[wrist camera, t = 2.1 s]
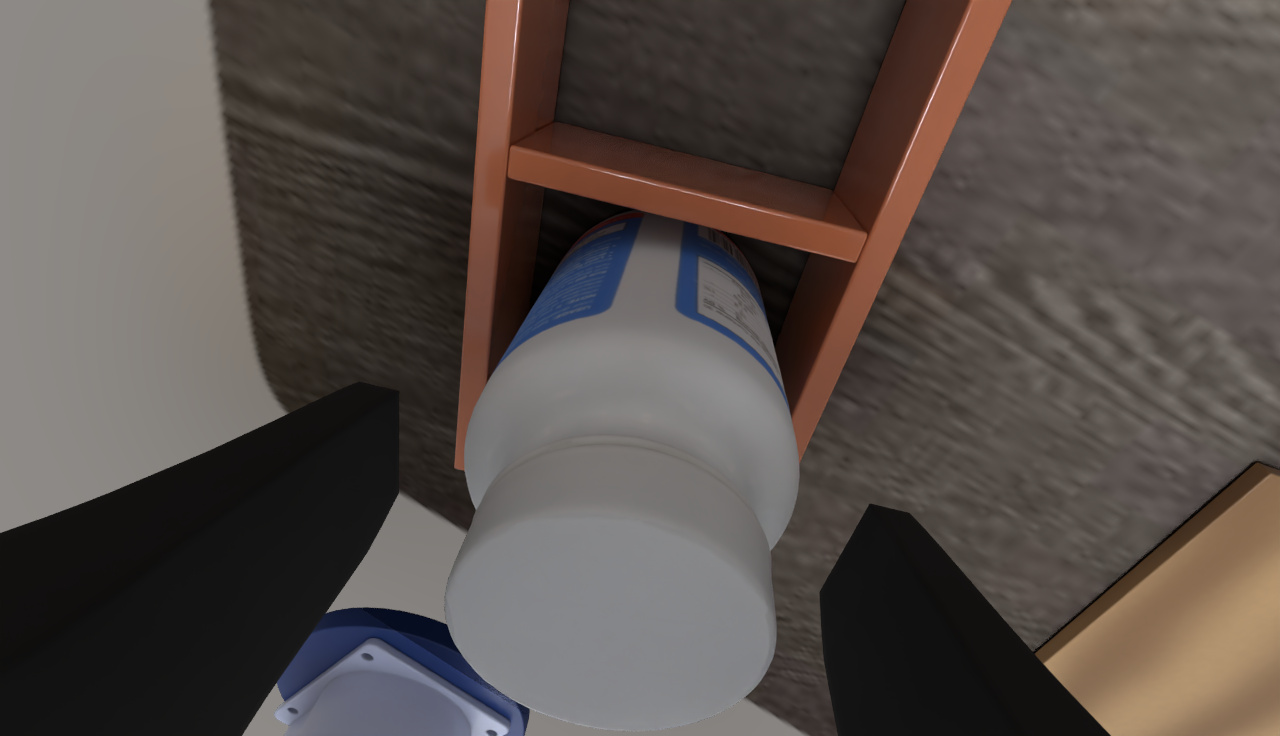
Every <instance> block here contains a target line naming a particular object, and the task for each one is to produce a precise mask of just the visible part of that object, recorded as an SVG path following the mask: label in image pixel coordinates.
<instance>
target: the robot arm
mask: <svg viewBox="0 0 1280 736" xmlns="http://www.w3.org/2000/svg"><path fill="white" fill-rule="evenodd" d="M398 493H399V391H396V390H392V389H388V388H384V387H379V386H375V385H371V384H367V383H363V382H357V383H354V384H352V385H350V386H347V387H345V388H343V389H340V390H338V391H336V392H334V393H332V394H329V395H327V396H325V397H323V398H321V399H319V400H317V401H315V402H312V403H310V404H308V405H306V406H304V407H302V408H300V409H298V410H296V411H293V412H291V413H289V414H287V415H285V416H283V417H281V418H279V419H277V420H275V421H273V422H270V423H268V424H266V425H264V426H262V427H259V428H258V429H255V430H253V431H251V432H249V433H247V434H244V435H242V436H240V437H238V438H236V439H234V440H231V441H229V442H227V443H225V444H223V445H221V446H218V447H216V448H214V449H212V450H210V451H207V452H205V453H203V454H200V455H198V456H196V457H193V458H191V459H189V460H186V461H184V462H182V463H179V464H177V465H174V466H172V467H170V468H167V469H165V470H163V471H160V472H158V473H155V474H153V475H151V476H148V477H146V478H143V479H141V480H139V481H136V482H134V483H132V484H129V485H127V486H124V487H122V488H120V489H117V490H115V491H113V492H110V493H108V494H105V495H103V496H100V497H97V498H95V499H93V500H90V501H87V502H85V503H82V504H79V505H77V506H74V507H72V508H69V509H66V510H63V511H61V512H58V513H55V514H53V515H50V516H48V517H45V518H42V519H39V520H36V521H33V522H30V523H28V524H25V525H22V526H19V527H16V528H13V529H11V530H8V531H5V532H2V533H0V736H242V735H243V733H244V731H245V730H246V728H247V727H248V725H249V723H250V722H251V721H252V719H253V717H254V716H255V714H256V712H257V711H258V710H259V708H260V707H261V705H262V703H263V702H264V700H265V699H266V697H267V696H268V694H269V693H270V692H271V690H272V689H273V687H274V686H275V684H276V683H277V682H278V680H279V679H280V677H281V676H282V674H283V673H284V672H285V670H286V669H287V667H288V666H289V664H290V663H291V662H292V660H293V659H294V657H295V656H296V654H297V653H298V652H299V650H300V649H301V647H302V646H303V644H304V643H305V642H306V640H307V639H308V637H309V636H310V634H311V633H312V632H313V630H314V629H315V627H316V626H317V625H318V623H319V622H320V620H321V619H322V617H323V616H324V615H325V613H326V612H327V610H328V609H329V607H330V606H331V604H332V603H333V602H334V600H335V599H336V597H337V596H338V594H339V593H340V592H341V590H342V589H343V587H344V586H345V584H346V583H347V581H348V580H349V579H350V577H351V576H352V574H353V573H354V571H355V570H356V568H357V567H358V565H359V564H360V563H361V561H362V560H363V558H364V557H365V555H366V554H367V552H368V550H369V549H370V547H371V545H372V543H373V541H374V539H375V537H376V536H377V534H378V532H379V530H380V528H381V527H382V525H383V523H384V521H385V519H386V517H387V515H388V513H389V511H390V509H391V507H392V505H393V503H394V501H395V499H396V497H397V495H398ZM820 610H821V630H822V642H823V655H824V663H825V668H826V674H827V679H828V685H829V690H830V695H831V701H832V706H833V711H834V717H835V722H836V727H837V732H838V736H1111V735H1110V734H1109V733H1108V732H1107V731H1106V730H1105V729H1104V728H1103V727H1102V726H1101V725H1100V724H1099V722H1098V721H1097V720H1096V719H1095V718H1094V717H1093V716H1092V715H1091V714H1090V713H1089V712H1088V711H1087V710H1086V709H1085V708H1084V707H1083V706H1082V705H1081V704H1080V703H1079V702H1078V700H1077V699H1076V698H1075V697H1074V696H1073V695H1072V694H1071V693H1070V692H1069V691H1068V690H1067V689H1066V688H1065V687H1064V686H1063V685H1062V684H1061V683H1060V681H1059V680H1058V679H1057V678H1056V677H1055V676H1054V675H1053V674H1052V673H1051V672H1050V671H1049V669H1048V668H1047V667H1046V666H1045V665H1044V664H1043V663H1042V662H1041V661H1040V660H1039V659H1038V657H1037V656H1036V655H1035V654H1034V653H1033V652H1032V651H1031V650H1030V649H1029V647H1028V646H1027V645H1026V644H1025V643H1024V642H1023V641H1022V640H1021V638H1020V637H1019V636H1018V635H1017V634H1016V633H1015V632H1014V631H1013V629H1012V628H1011V627H1010V626H1009V625H1008V624H1007V623H1006V621H1005V620H1004V619H1003V618H1002V617H1001V616H1000V615H999V613H998V612H997V611H996V610H995V609H994V608H993V607H992V605H991V604H990V603H989V602H988V601H987V600H986V599H985V597H984V596H983V595H982V594H981V593H980V592H979V590H978V589H977V588H976V587H975V586H974V585H973V584H972V582H971V581H970V580H969V579H968V578H967V577H966V575H965V574H964V573H963V572H962V571H961V570H960V568H959V567H958V566H957V565H956V564H955V563H954V562H953V560H952V559H951V558H950V557H949V556H948V555H947V554H946V552H945V551H944V550H943V549H942V548H941V547H940V546H939V544H938V543H937V542H936V541H935V540H934V539H933V538H932V537H931V535H930V534H929V533H928V532H927V531H926V530H925V529H924V528H923V527H922V526H921V524H920V523H919V522H918V521H917V520H916V519H915V518H914V517H913V516H912V515H911V514H910V513H907V512H903V511H899V510H895V509H890V508H886V507H882V506H878V505H874V504H869V506H868V508H867V510H866V511H865V513H864V515H863V517H862V518H861V520H860V522H859V524H858V525H857V527H856V529H855V531H854V533H853V534H852V536H851V538H850V540H849V541H848V543H847V545H846V547H845V548H844V550H843V552H842V554H841V555H840V557H839V559H838V561H837V562H836V564H835V566H834V568H833V569H832V571H831V573H830V575H829V576H828V578H827V580H826V582H825V584H824V585H823V587H822V589H821V591H820ZM274 715H275V717H276V719H278V720H279V721H281V722H283V723H285V724H287V725H288V726H289V728H288V730H287V731H286V733H285V735H284V736H503V735H505V734H507V733H508V732H509V729H510V725H511V723H510V721H509V719H507V718H506V717H504V716H503V715H501V714H500V713H498V712H496V711H495V710H493V709H492V708H490V707H488V706H487V705H485V704H484V703H482V702H481V701H479V700H477V699H476V698H474V697H473V696H471V695H469V694H468V693H466V692H465V691H463V690H461V689H460V688H458V687H457V686H455V685H453V684H452V683H450V682H449V681H447V680H445V679H444V678H442V677H441V676H439V675H437V674H436V673H434V672H433V671H431V670H429V669H428V668H426V667H425V666H423V665H421V664H420V663H418V662H417V661H415V660H414V659H412V658H410V657H409V656H407V655H406V654H404V653H402V652H401V651H399V650H398V649H396V648H394V647H393V646H391V645H390V644H388V643H386V642H385V641H383V640H381V639H379V638H370V639H368V640H366V641H365V642H364V643H362V644H361V645H360V646H358V647H357V648H356V649H354V650H353V651H351V652H350V653H349V654H347V655H346V656H345V657H343V658H342V659H341V660H339V661H338V662H337V663H335V664H334V665H333V666H331V667H330V668H329V669H327V670H326V671H325V672H323V673H322V674H321V675H319V676H318V677H317V678H315V679H314V680H313V681H311V682H310V683H309V684H307V685H306V686H305V687H303V688H302V689H301V690H299V691H298V692H297V693H295V694H294V695H293V696H291V697H290V698H289V699H287V700H286V701H285V702H283V703H282V704H281V705H279V707H278V708H277V710H276V711H275V713H274Z"/></svg>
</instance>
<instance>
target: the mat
mask: <svg viewBox="0 0 1280 736" xmlns="http://www.w3.org/2000/svg"><path fill="white" fill-rule="evenodd" d="M1035 655H1036V656H1037V657H1038V659H1039V660H1040V661H1041V662H1042V663H1043V664H1044V665H1045V666H1046V667H1047V668H1048V669H1049V671H1050V672H1051V673H1052V674H1053V675H1054V676H1055V677H1056V678H1057V679H1058V680H1059V681H1060V683H1061V684H1062V685H1063V686H1064V687H1065V688H1066V689H1067V690H1068V691H1069V692H1070V693H1071V694H1072V695H1073V696H1074V697H1075V698H1076V699H1077V700H1078V702H1079V703H1080V704H1081V705H1082V706H1083V707H1084V708H1085V709H1086V710H1087V711H1088V712H1089V713H1090V714H1091V715H1092V716H1093V717H1094V718H1095V719H1096V720H1097V721H1098V722H1099V724H1100V725H1101V726H1102V727H1103V728H1104V729H1105V730H1106V731H1107V732H1108V733H1109V734H1110V735H1111V736H1280V470H1277V469H1274V468H1272V467H1269V466H1266V465H1263V464H1261V463H1255V464H1254V465H1253V466H1252V467H1251V468H1250V469H1248V470H1247V471H1246V472H1245V473H1244V474H1243V475H1241V476H1240V477H1239V478H1238V479H1237V480H1236V481H1234V482H1233V483H1232V484H1231V485H1230V486H1229V487H1227V488H1226V489H1225V490H1224V491H1223V492H1222V493H1221V494H1219V495H1218V496H1217V497H1216V498H1215V499H1214V500H1212V501H1211V502H1210V503H1209V504H1208V505H1207V506H1205V507H1204V508H1203V509H1202V510H1201V511H1200V512H1198V513H1197V514H1196V515H1195V516H1194V517H1193V518H1192V519H1190V520H1189V521H1188V522H1187V523H1186V524H1185V525H1183V526H1182V527H1181V528H1180V529H1179V530H1178V531H1176V532H1175V533H1174V534H1173V535H1172V536H1171V537H1169V538H1168V539H1167V540H1166V541H1165V542H1164V543H1162V544H1161V545H1160V546H1159V547H1158V548H1157V549H1156V550H1154V551H1153V552H1152V553H1151V554H1150V555H1149V556H1147V557H1146V558H1145V559H1144V560H1143V561H1142V562H1140V563H1139V564H1138V565H1137V566H1136V567H1135V568H1133V569H1132V570H1131V571H1130V572H1129V573H1128V574H1127V575H1125V576H1124V577H1123V578H1122V579H1121V580H1120V581H1118V582H1117V583H1116V584H1115V585H1114V586H1113V587H1111V588H1110V589H1109V590H1108V591H1107V592H1106V593H1104V594H1103V595H1102V596H1101V597H1100V598H1099V599H1098V600H1096V601H1095V602H1094V603H1093V604H1092V605H1091V606H1089V607H1088V608H1087V609H1086V610H1085V611H1084V612H1082V613H1081V614H1080V615H1079V616H1078V617H1077V618H1075V619H1074V620H1073V621H1072V622H1071V623H1070V624H1068V625H1067V626H1066V627H1065V628H1064V629H1063V630H1062V631H1060V632H1059V633H1058V634H1057V635H1056V636H1055V637H1053V638H1052V639H1051V640H1050V641H1049V642H1048V643H1046V644H1045V645H1044V646H1043V647H1042V648H1041V649H1039V650H1038V651H1037V652H1036V653H1035Z"/></svg>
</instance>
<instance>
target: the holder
mask: <svg viewBox="0 0 1280 736" xmlns="http://www.w3.org/2000/svg"><path fill="white" fill-rule="evenodd" d="M1011 2H1012V0H907V1H906V3H905V6H904V9H903V11H902V14H901V16H900V19H899V22H898V24H897V27H896V30H895V32H894V35H893V37H892V40H891V43H890V45H889V48H888V51H887V53H886V56H885V58H884V61H883V64H882V66H881V69H880V71H879V74H878V77H877V79H876V82H875V85H874V87H873V90H872V92H871V95H870V98H869V100H868V103H867V106H866V108H865V111H864V113H863V116H862V119H861V121H860V124H859V127H858V129H857V132H856V134H855V137H854V140H853V142H852V145H851V148H850V150H849V153H848V155H847V158H846V161H845V163H844V166H843V168H842V171H841V174H840V176H839V179H838V182H837V184H836V187H835V189H834V192H833V191H832V190H831V189H827V188H823V187H819V186H815V185H811V184H807V183H803V182H799V181H795V180H791V179H787V178H783V177H779V176H775V175H771V174H767V173H763V172H759V171H755V170H751V169H747V168H743V167H738V166H734V165H730V164H726V163H722V162H718V161H714V160H710V159H706V158H702V157H698V156H694V155H690V154H686V153H682V152H678V151H674V150H670V149H666V148H662V147H658V146H654V145H650V144H646V143H642V142H638V141H634V140H630V139H626V138H621V137H617V136H613V135H609V134H605V133H601V132H597V131H593V130H589V129H585V128H581V127H577V126H573V125H569V124H565V123H561V122H554V115H555V107H556V99H557V92H558V84H559V76H560V68H561V61H562V53H563V45H564V38H565V30H566V22H567V15H568V7H569V0H486V8H485V23H484V37H483V52H482V67H481V82H480V96H479V111H478V126H477V140H476V155H475V170H474V185H473V199H472V214H471V229H470V244H469V258H468V273H467V288H466V302H465V317H464V332H463V347H462V361H461V376H460V391H459V405H458V420H457V435H456V450H455V464H454V467H455V468H456V469H459V470H463V471H465V467H464V448H465V439H466V434H467V429H468V424H469V422H470V419H471V416H472V413H473V410H474V407H475V405H476V403H477V401H478V399H479V398H480V396H481V394H482V392H483V390H484V388H485V386H486V384H487V382H488V381H489V379H490V377H491V375H492V374H493V372H494V370H495V369H496V367H497V365H498V363H499V362H500V360H501V358H502V357H503V355H504V354H505V352H506V350H507V349H508V347H509V345H510V344H511V342H512V341H513V339H514V337H515V336H516V334H517V332H518V330H519V329H520V327H521V325H522V324H523V322H524V321H525V319H526V317H527V316H528V314H529V307H530V299H531V291H532V284H533V276H534V268H535V261H536V253H537V245H538V238H539V230H540V222H541V215H542V207H543V199H544V191H545V187H546V188H550V189H554V190H558V191H562V192H566V193H570V194H574V195H578V196H583V197H587V198H591V199H595V200H599V201H603V202H607V203H611V204H615V205H619V206H623V207H627V208H631V209H635V210H640V211H644V212H648V213H652V214H656V215H660V216H664V217H668V218H672V219H676V220H680V221H684V222H688V223H692V224H696V225H701V226H705V227H709V228H713V229H717V230H721V231H725V232H729V233H733V234H737V235H741V236H745V237H749V238H753V239H758V240H762V241H766V242H770V243H774V244H778V245H782V246H786V247H790V248H794V249H798V250H802V251H806V252H810V255H809V258H808V260H807V263H806V265H805V268H804V271H803V273H802V276H801V279H800V281H799V284H798V286H797V289H796V292H795V294H794V297H793V300H792V302H791V305H790V307H789V310H788V313H787V315H786V318H785V321H784V323H783V326H782V328H781V331H780V334H779V336H778V339H777V342H776V344H775V347H774V349H775V353H776V357H777V361H778V365H779V369H780V373H781V377H782V381H783V386H784V390H785V394H786V397H787V401H788V405H789V409H790V414H791V419H792V424H793V428H794V433H795V438H796V443H797V448H798V455H799V463H800V461H801V458H802V456H803V454H804V452H805V450H806V447H807V445H808V443H809V441H810V439H811V437H812V434H813V432H814V430H815V428H816V426H817V424H818V421H819V419H820V417H821V415H822V413H823V411H824V408H825V406H826V404H827V402H828V400H829V398H830V395H831V393H832V391H833V389H834V387H835V384H836V382H837V380H838V378H839V376H840V374H841V371H842V369H843V367H844V365H845V363H846V361H847V358H848V356H849V354H850V352H851V350H852V348H853V345H854V343H855V341H856V339H857V337H858V334H859V332H860V330H861V328H862V326H863V324H864V321H865V319H866V317H867V315H868V313H869V311H870V308H871V306H872V304H873V302H874V300H875V298H876V295H877V293H878V291H879V289H880V287H881V285H882V282H883V280H884V278H885V276H886V274H887V271H888V269H889V267H890V265H891V263H892V261H893V258H894V256H895V254H896V252H897V250H898V248H899V245H900V243H901V241H902V239H903V237H904V235H905V232H906V230H907V228H908V226H909V224H910V221H911V219H912V217H913V215H914V213H915V211H916V208H917V206H918V204H919V202H920V200H921V198H922V195H923V193H924V191H925V189H926V187H927V185H928V182H929V180H930V178H931V176H932V174H933V172H934V169H935V167H936V165H937V163H938V161H939V158H940V156H941V154H942V152H943V150H944V148H945V145H946V143H947V141H948V139H949V137H950V135H951V132H952V130H953V128H954V126H955V124H956V122H957V119H958V117H959V115H960V113H961V111H962V108H963V106H964V104H965V102H966V100H967V98H968V95H969V93H970V91H971V89H972V87H973V85H974V82H975V80H976V78H977V76H978V74H979V72H980V69H981V67H982V65H983V63H984V61H985V59H986V56H987V54H988V52H989V50H990V48H991V45H992V43H993V41H994V39H995V37H996V35H997V32H998V30H999V28H1000V26H1001V24H1002V22H1003V19H1004V17H1005V15H1006V13H1007V11H1008V9H1009V6H1010V4H1011Z"/></svg>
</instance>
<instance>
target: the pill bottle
mask: <svg viewBox="0 0 1280 736" xmlns="http://www.w3.org/2000/svg"><path fill="white" fill-rule="evenodd" d="M464 467H465V475H466V480H467V485H468V489H469V492H470V496H471V499H472V502H473V504H474V506H475V509H476V512H475V514H474V517H473V520H472V524H471V526H470V528H469V530H468V533H467V535H466V537H465V540H464V542H463V544H462V547H461V549H460V551H459V554H458V556H457V558H456V561H455V563H454V566H453V568H452V571H451V573H450V576H449V578H448V583H447V587H446V593H445V616H446V622H447V625H448V628H449V632H450V635H451V637H452V639H453V641H454V643H455V645H456V646H457V648H458V649H459V651H460V652H461V654H462V656H463V657H464V658H465V659H466V661H467V662H468V663H469V664H470V665H471V667H472V668H473V669H474V670H475V671H476V672H477V673H478V674H479V675H480V676H481V677H482V678H483V679H484V680H485V681H486V682H488V683H489V684H491V685H492V686H493V687H495V688H496V689H497V690H498V691H499V692H501V693H503V694H505V695H506V696H508V697H509V698H510V699H512V700H514V701H516V702H518V703H520V704H522V705H524V706H525V707H527V708H529V709H532V710H534V711H536V712H538V713H541V714H545V715H547V716H550V717H553V718H556V719H559V720H561V721H565V722H569V723H573V724H577V725H580V726H586V727H591V728H596V729H602V730H617V731H652V730H660V729H668V728H674V727H680V726H684V725H688V724H692V723H695V722H699V721H702V720H705V719H707V718H710V717H713V716H715V715H717V714H719V713H721V712H723V711H725V710H726V709H728V708H729V707H731V706H733V705H735V704H736V703H738V702H739V701H740V700H742V699H743V698H744V697H745V696H747V695H748V694H749V693H750V692H751V691H752V690H753V689H754V688H755V687H756V686H757V685H758V684H759V682H760V681H761V680H762V678H763V677H764V675H765V673H766V671H767V669H768V667H769V665H770V663H771V661H772V659H773V655H774V650H775V645H776V638H777V628H776V614H775V604H774V595H773V585H772V576H771V572H772V560H771V553H770V551H771V550H772V548H773V547H774V546H775V545H776V543H777V542H778V540H779V539H780V537H781V536H782V534H783V532H784V530H785V528H786V527H787V525H788V523H789V520H790V518H791V515H792V513H793V510H794V506H795V502H796V498H797V494H798V486H799V455H798V448H797V443H796V438H795V433H794V428H793V424H792V419H791V414H790V409H789V405H788V401H787V397H786V394H785V390H784V386H783V381H782V377H781V373H780V369H779V365H778V361H777V357H776V353H775V349H774V345H773V340H772V337H771V333H770V329H769V325H768V321H767V317H766V312H765V308H764V304H763V300H762V296H761V292H760V288H759V284H758V281H757V278H756V276H755V274H754V272H753V270H752V268H751V266H750V265H749V263H748V261H747V260H746V258H745V256H744V255H743V253H742V252H741V251H740V249H739V248H738V247H737V246H736V245H735V244H734V243H733V242H732V241H731V240H730V239H729V238H728V237H727V236H726V235H725V234H723V233H722V232H721V231H719V230H717V229H713V228H709V227H705V226H701V225H696V224H692V223H688V222H684V221H680V220H676V219H672V218H668V217H664V216H660V215H656V214H652V213H648V212H644V211H640V210H632V211H628V212H624V213H620V214H617V215H615V216H612V217H610V218H608V219H606V220H604V221H602V222H600V223H599V224H597V225H595V226H594V227H592V228H591V229H590V230H588V231H587V232H586V233H585V234H584V235H582V236H581V237H580V238H579V239H578V240H577V241H576V242H575V244H574V245H573V246H572V247H571V248H570V250H569V251H568V252H567V253H566V255H565V256H564V257H563V259H562V260H561V262H560V263H559V265H558V267H557V268H556V270H555V271H554V273H553V275H552V276H551V278H550V280H549V281H548V283H547V285H546V286H545V288H544V290H543V291H542V293H541V294H540V296H539V298H538V299H537V301H536V303H535V304H534V306H533V307H532V309H531V311H530V312H529V314H528V316H527V317H526V319H525V321H524V322H523V324H522V325H521V327H520V329H519V330H518V332H517V334H516V336H515V337H514V339H513V341H512V342H511V344H510V345H509V347H508V349H507V350H506V352H505V354H504V355H503V357H502V358H501V360H500V362H499V363H498V365H497V367H496V369H495V370H494V372H493V374H492V375H491V377H490V379H489V381H488V382H487V384H486V386H485V388H484V390H483V392H482V394H481V396H480V398H479V399H478V401H477V403H476V405H475V407H474V410H473V413H472V416H471V419H470V422H469V424H468V429H467V434H466V439H465V448H464Z"/></svg>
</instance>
